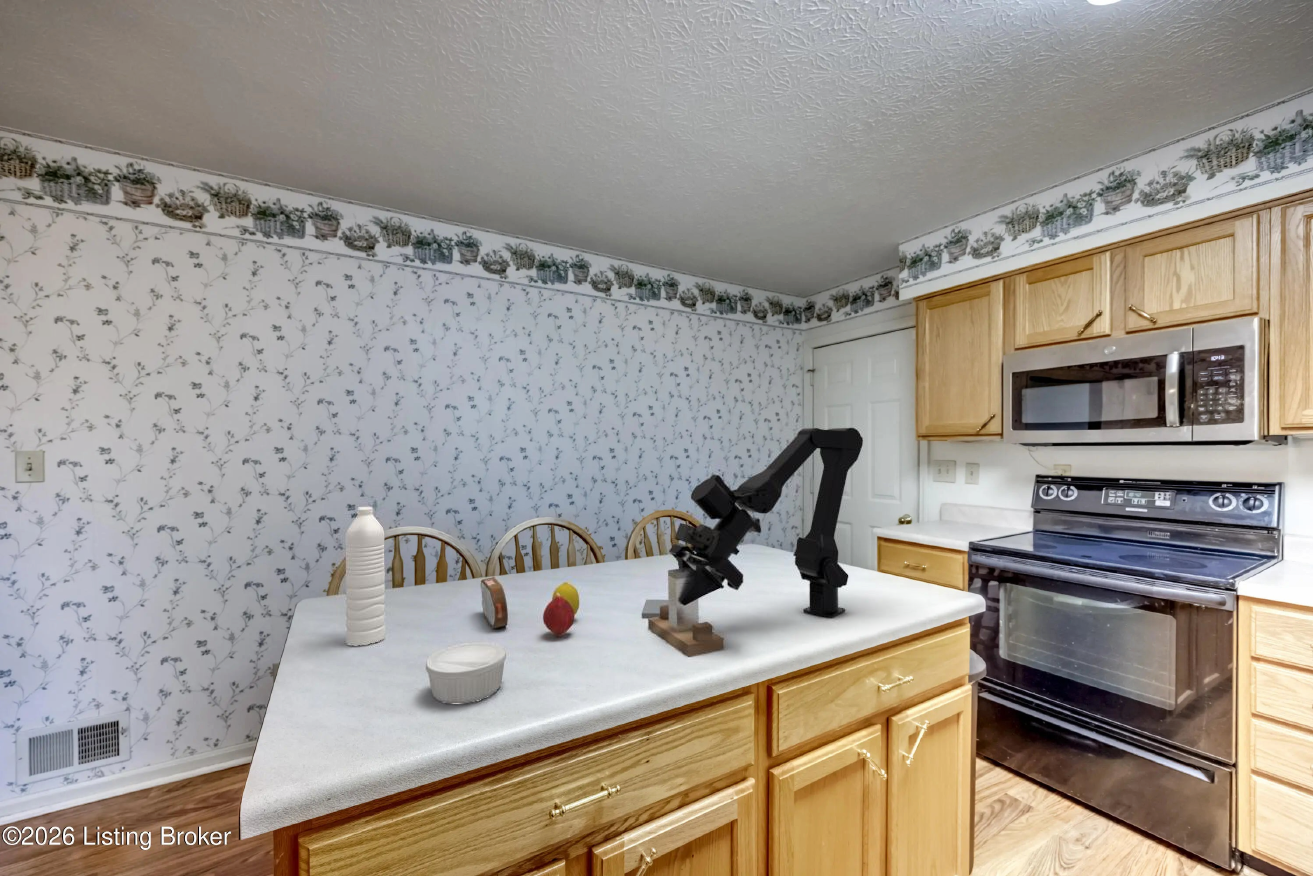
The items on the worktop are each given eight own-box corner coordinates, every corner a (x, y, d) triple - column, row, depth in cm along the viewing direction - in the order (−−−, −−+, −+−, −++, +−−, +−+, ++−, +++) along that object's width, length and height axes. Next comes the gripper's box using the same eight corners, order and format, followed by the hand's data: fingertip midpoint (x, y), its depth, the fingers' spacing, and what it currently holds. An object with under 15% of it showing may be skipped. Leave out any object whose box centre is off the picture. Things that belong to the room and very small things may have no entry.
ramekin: (426, 716, 75) (426, 676, 75) (425, 683, 85) (425, 648, 85) (512, 699, 79) (511, 662, 79) (500, 670, 89) (500, 637, 89)
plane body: (647, 628, 108) (647, 605, 108) (679, 622, 111) (679, 600, 111) (688, 656, 93) (688, 629, 94) (723, 649, 97) (723, 623, 97)
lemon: (582, 617, 116) (581, 578, 116) (575, 626, 110) (575, 585, 110) (556, 617, 116) (555, 578, 116) (548, 625, 111) (548, 585, 111)
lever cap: (690, 623, 105) (689, 567, 105) (698, 628, 102) (697, 570, 102) (668, 627, 103) (668, 570, 103) (677, 632, 100) (676, 573, 100)
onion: (580, 632, 106) (579, 590, 107) (565, 642, 101) (565, 598, 101) (553, 629, 108) (552, 588, 108) (537, 639, 103) (537, 596, 103)
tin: (509, 631, 108) (508, 588, 108) (492, 634, 106) (492, 590, 106) (494, 611, 121) (493, 572, 121) (479, 613, 120) (478, 574, 120)
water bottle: (346, 638, 105) (345, 506, 105) (384, 632, 108) (383, 503, 108) (345, 653, 97) (344, 510, 98) (387, 646, 100) (385, 508, 101)
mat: (690, 604, 124) (690, 599, 124) (690, 618, 114) (690, 613, 114) (646, 604, 125) (646, 599, 125) (641, 618, 115) (641, 613, 115)
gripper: (676, 503, 113) (627, 563, 108) (727, 512, 96) (672, 585, 91) (710, 538, 116) (664, 598, 111) (765, 554, 99) (714, 625, 94)
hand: (676, 601), depth 102 cm, fingers open, 4 cm apart
